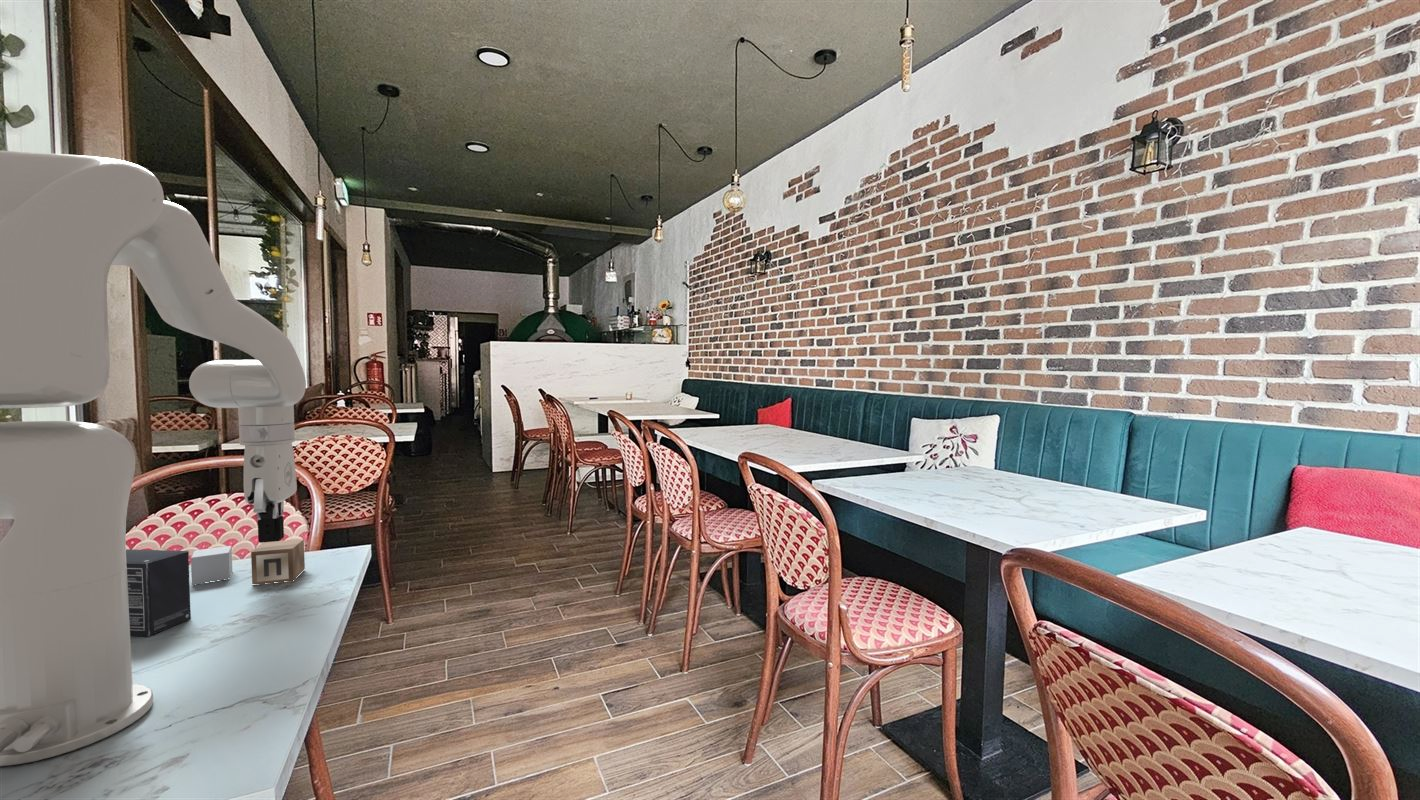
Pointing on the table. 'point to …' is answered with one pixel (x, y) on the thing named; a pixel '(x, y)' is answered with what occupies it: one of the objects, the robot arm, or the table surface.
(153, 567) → the small box
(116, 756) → the table surface
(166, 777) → the table surface
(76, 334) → the robot arm
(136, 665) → the table surface
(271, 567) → the walnut cube
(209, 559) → the grey block
